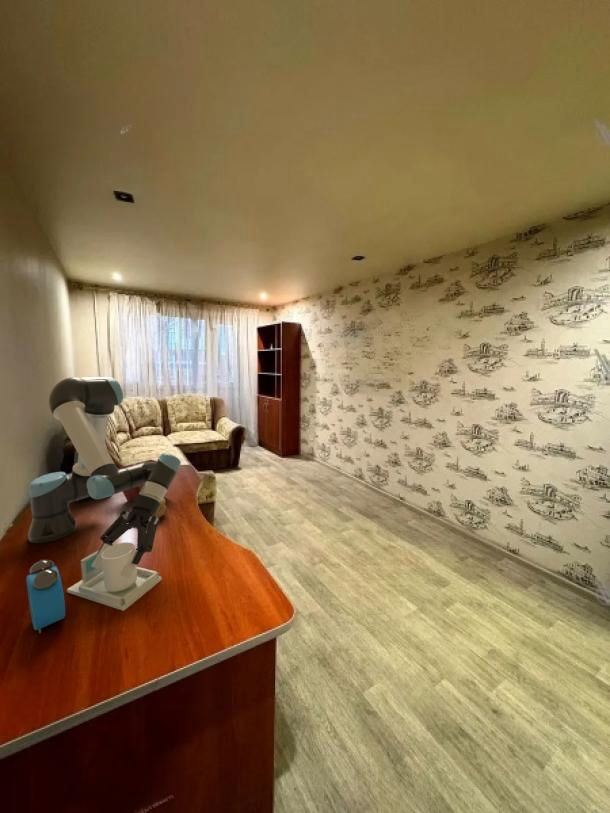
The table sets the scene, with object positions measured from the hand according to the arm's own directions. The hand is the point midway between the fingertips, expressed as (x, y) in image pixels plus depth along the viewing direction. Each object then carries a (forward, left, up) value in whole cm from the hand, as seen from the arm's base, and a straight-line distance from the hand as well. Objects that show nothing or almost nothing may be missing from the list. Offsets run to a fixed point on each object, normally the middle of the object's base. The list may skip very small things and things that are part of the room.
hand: (110, 572), depth 90 cm
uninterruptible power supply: (-83, +56, -7) cm, 100 cm away
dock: (-2, +3, -7) cm, 7 cm away
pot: (-27, +41, -7) cm, 49 cm away
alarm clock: (-6, -13, -7) cm, 16 cm away
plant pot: (-46, +56, -7) cm, 73 cm away
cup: (0, +3, -5) cm, 5 cm away
